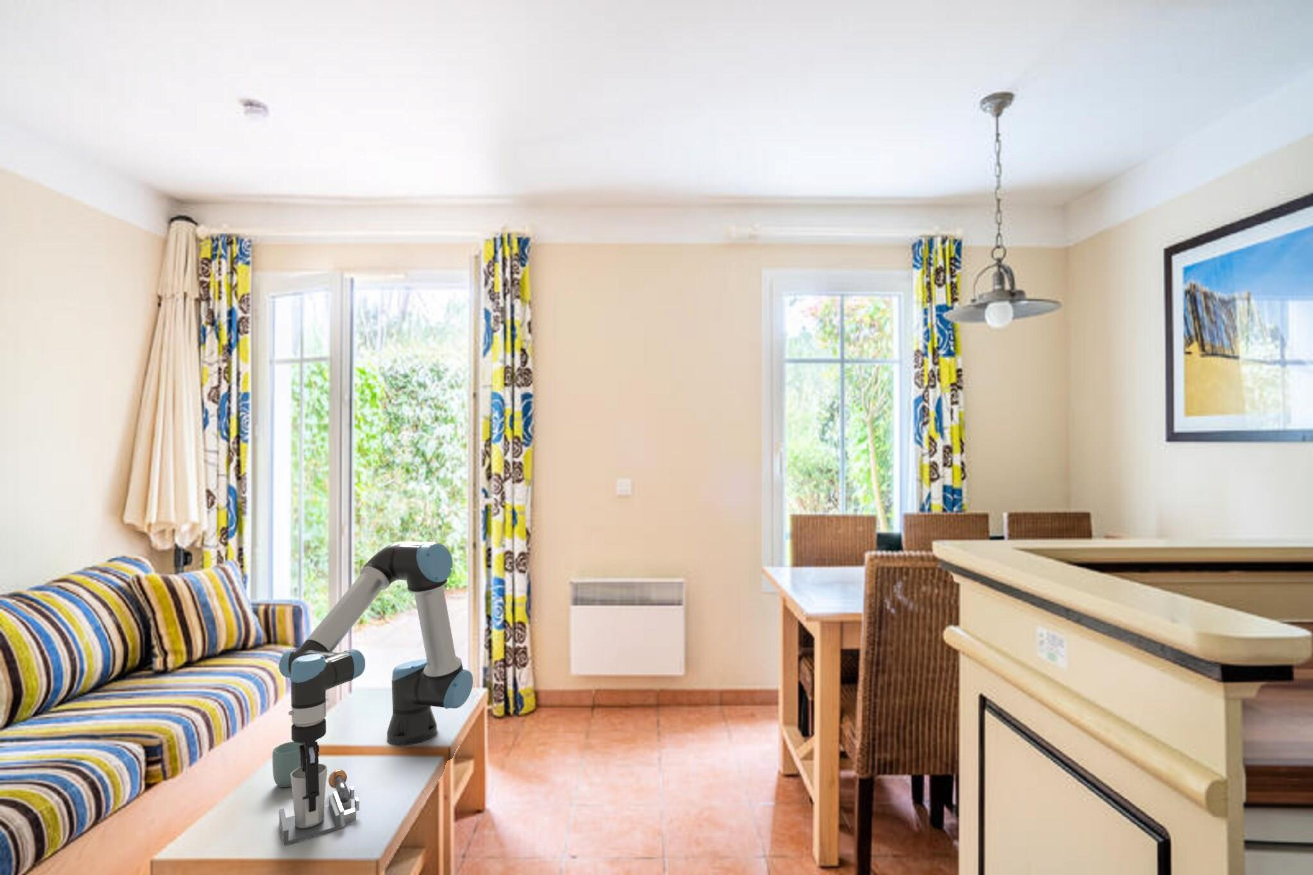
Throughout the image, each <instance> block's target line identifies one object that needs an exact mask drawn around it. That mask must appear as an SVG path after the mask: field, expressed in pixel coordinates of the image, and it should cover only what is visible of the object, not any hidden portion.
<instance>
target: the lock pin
mask: <svg viewBox="0 0 1313 875" xmlns="http://www.w3.org/2000/svg"><path fill="white" fill-rule="evenodd" d="M345 771H346V770H345ZM345 771H344V770H343V769H337V770H334V771H332V772H331V774H329V777H328V782H327V783H328V785H329V787H330V788H333V789H335V791H337V794H338V796H339V799H340V801H341V802H342V803H346V802H348V801H349V800H350V797H351V796H350V790H349V789H348V786H347V784H346V782H347V780H348V775H347V772H345Z"/></svg>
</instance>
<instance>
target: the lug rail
mask: <svg viewBox="0 0 1313 875" xmlns="http://www.w3.org/2000/svg"><path fill="white" fill-rule="evenodd" d="M349 793H350V796H351V797H350V800H349V801H348V802H346V803H342V802H341V801H340V798H339V796H338V793H337V790H334V791H332V795H333V796H334V799H335V801H336V804H337V807H338V809H339V812H340V815H341V829H344V828H345V824H346V823H347V824H348V823H351V822H354V821H357V812H358V811H360V799H359V797H358V796H357V797H355V788H354V786H353V785H352V786H349ZM352 800H354V807H353V808H352Z"/></svg>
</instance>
